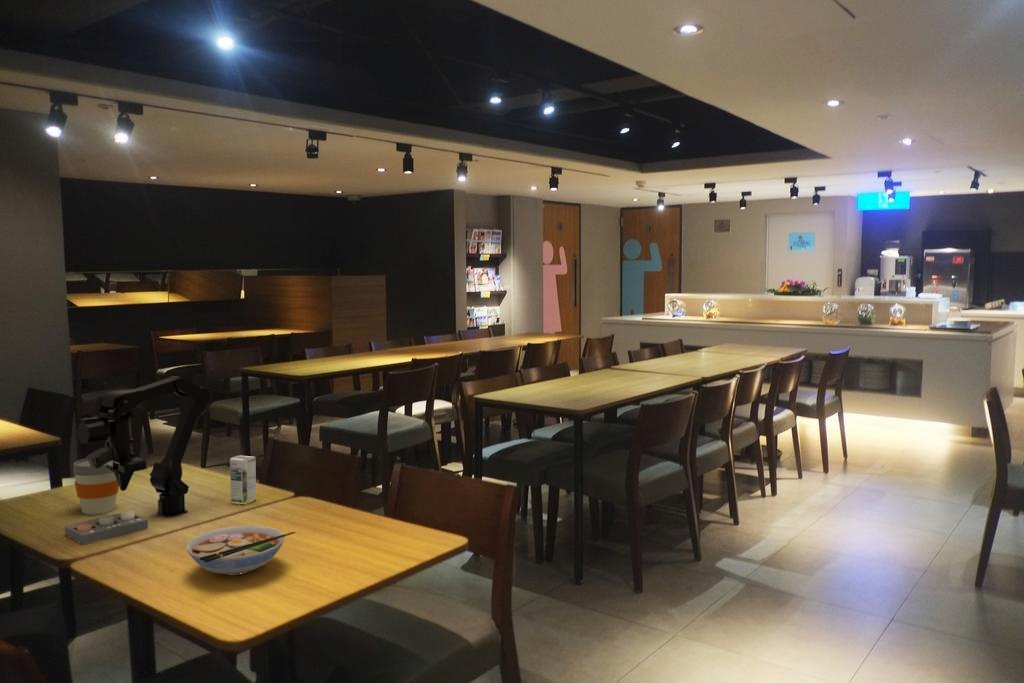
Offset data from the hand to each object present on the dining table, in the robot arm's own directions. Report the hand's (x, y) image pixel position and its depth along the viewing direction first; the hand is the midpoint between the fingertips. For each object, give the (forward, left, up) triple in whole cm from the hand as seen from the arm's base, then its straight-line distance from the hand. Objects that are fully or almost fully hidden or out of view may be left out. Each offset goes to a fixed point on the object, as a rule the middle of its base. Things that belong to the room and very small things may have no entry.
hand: (123, 490), depth 218 cm
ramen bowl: (-4, +52, -11) cm, 53 cm away
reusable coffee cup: (-2, -22, -11) cm, 25 cm away
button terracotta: (+11, 0, -12) cm, 16 cm away
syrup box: (-35, +4, -11) cm, 37 cm away
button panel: (+5, 0, -11) cm, 12 cm away
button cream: (-1, 0, -11) cm, 11 cm away
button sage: (+5, 0, -11) cm, 12 cm away
